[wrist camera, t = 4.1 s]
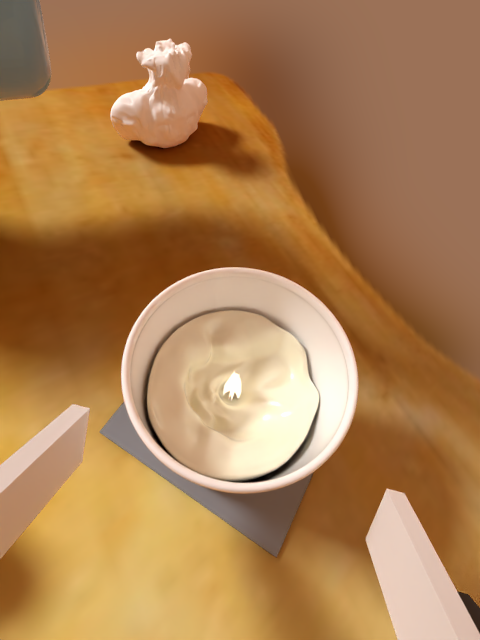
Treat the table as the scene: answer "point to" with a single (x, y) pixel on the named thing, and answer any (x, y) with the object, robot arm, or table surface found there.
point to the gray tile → (236, 509)
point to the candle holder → (239, 380)
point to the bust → (162, 99)
